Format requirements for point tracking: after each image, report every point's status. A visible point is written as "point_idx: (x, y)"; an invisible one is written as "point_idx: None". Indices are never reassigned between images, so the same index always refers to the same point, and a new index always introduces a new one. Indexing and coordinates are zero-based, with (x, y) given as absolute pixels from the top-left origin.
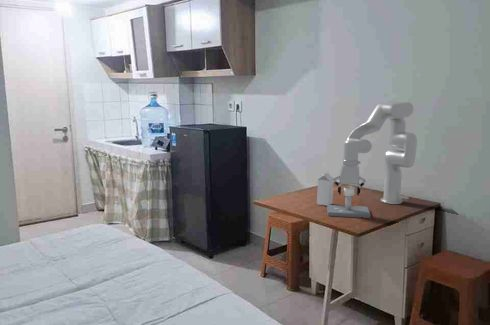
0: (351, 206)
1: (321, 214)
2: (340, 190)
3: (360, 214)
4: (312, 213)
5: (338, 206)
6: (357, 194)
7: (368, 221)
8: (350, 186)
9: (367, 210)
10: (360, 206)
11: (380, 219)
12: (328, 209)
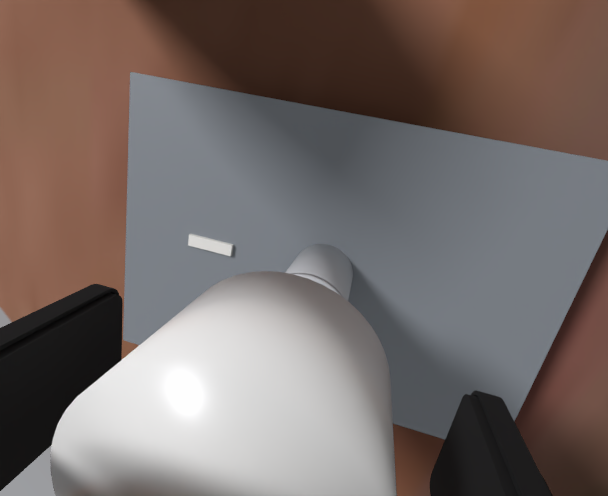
0: (405, 155)
1: (101, 284)
2: (51, 436)
3: (399, 420)
4: (38, 253)
5: (245, 153)
6: (431, 488)
7: (424, 492)
8: (296, 409)
9: (537, 335)
10: (535, 158)
11: (565, 473)
12: (132, 262)
